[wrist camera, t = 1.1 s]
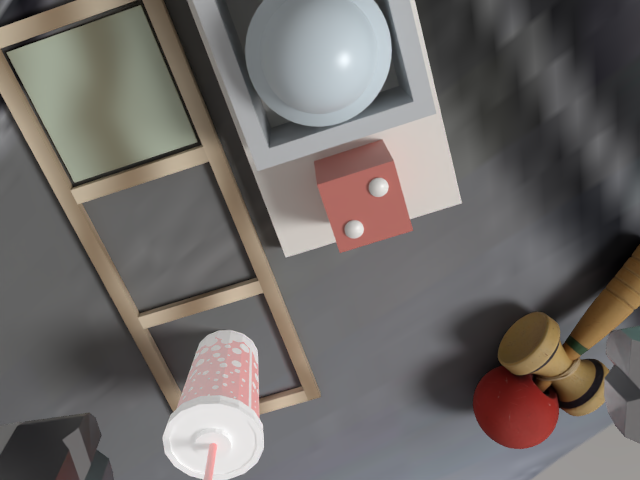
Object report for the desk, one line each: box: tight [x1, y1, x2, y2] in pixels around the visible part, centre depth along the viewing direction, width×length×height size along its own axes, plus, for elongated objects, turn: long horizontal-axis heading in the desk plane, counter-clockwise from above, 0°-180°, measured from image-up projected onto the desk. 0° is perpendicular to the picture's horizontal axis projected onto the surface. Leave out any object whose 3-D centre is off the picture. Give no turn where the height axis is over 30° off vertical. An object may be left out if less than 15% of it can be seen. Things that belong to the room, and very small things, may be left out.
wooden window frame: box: [0, 0, 321, 415], centre depth 40 cm, size 11×31×1 cm, turn 18°
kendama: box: [473, 244, 640, 449], centre depth 43 cm, size 8×6×18 cm
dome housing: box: [187, 0, 462, 257], centre depth 34 cm, size 12×18×6 cm, turn 18°
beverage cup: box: [163, 330, 264, 480], centre depth 38 cm, size 6×6×14 cm
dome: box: [245, 0, 392, 127], centre depth 29 cm, size 7×7×7 cm
